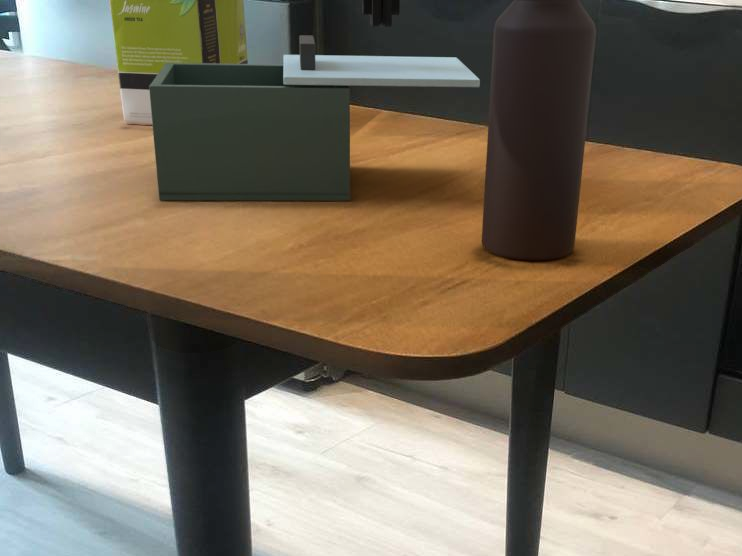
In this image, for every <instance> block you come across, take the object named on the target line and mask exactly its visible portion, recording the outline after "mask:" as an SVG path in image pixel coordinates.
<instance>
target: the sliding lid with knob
mask: <svg viewBox="0 0 742 556" xmlns="http://www.w3.org/2000/svg"><path fill="white" fill-rule="evenodd" d="M298 40H299V41H298V43H299V45H298V47H299V54H283V63H282V64H283V79H284V85H341V86H349V87H351V86H353V87H356V86H357V87H419V88H420V87H423V88H424V87H426V88H428V87H429V88H433V87H435V88H480V87H481V86H480V85H481V79H480V78H479V77H478V76H477V75H476V74H475V73H474V72H472V70H470V68H468V67H467V66H466V65H465V64H464V63H463V62H462V61H461V60H460V59H459V58H458V57H454V56H453V57H451V56H448V57H447V56H398V55H397V56H394V55H393V56H391V55H388V56H387V55H385V56H384V55H333V54H332V55H329V54H328V55H325V54H324V55H323V54H316V42H315V37H314V35H311V34H309V35H308V34H306V35H304V34H303V35H301V34H300V35H299V36H298Z"/></svg>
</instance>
